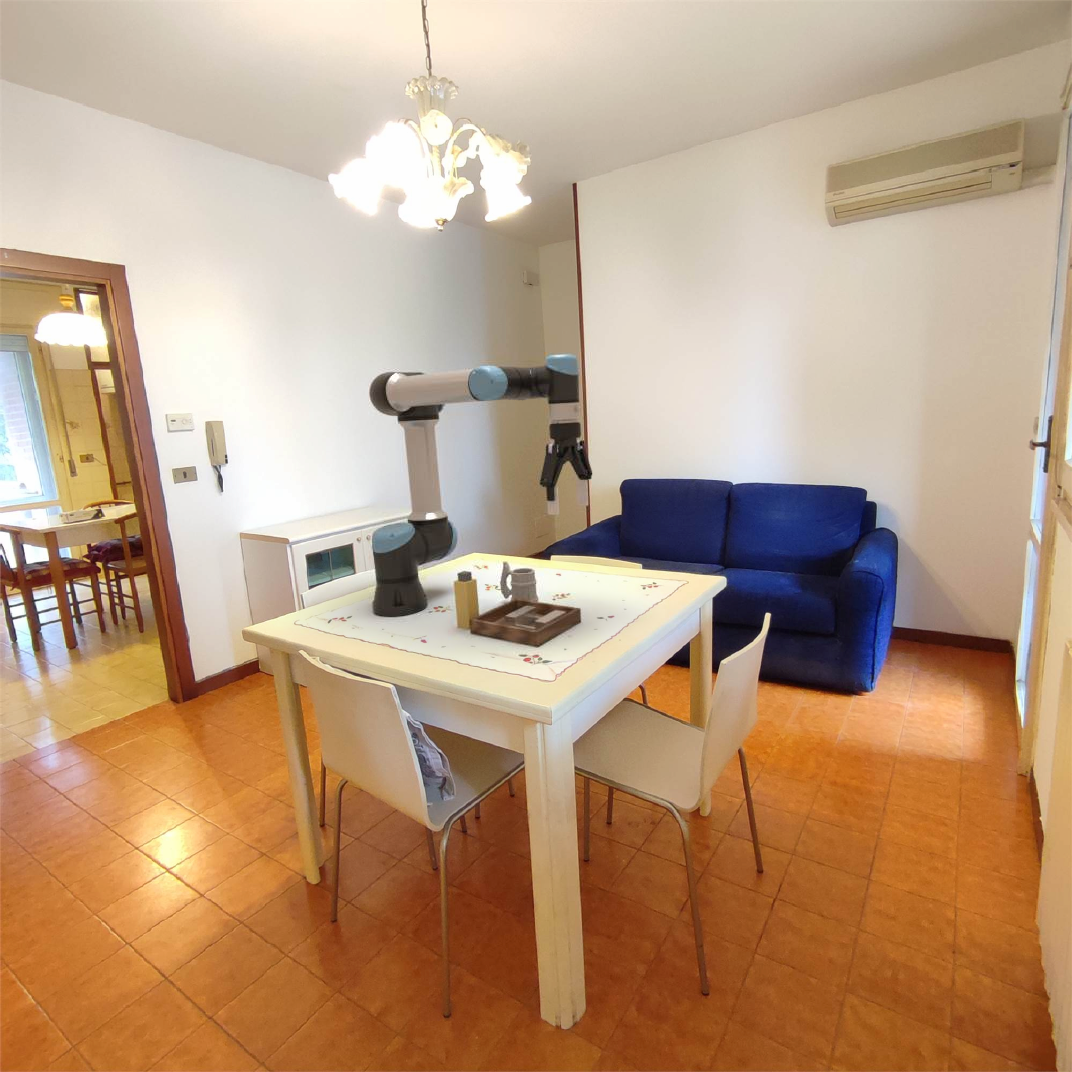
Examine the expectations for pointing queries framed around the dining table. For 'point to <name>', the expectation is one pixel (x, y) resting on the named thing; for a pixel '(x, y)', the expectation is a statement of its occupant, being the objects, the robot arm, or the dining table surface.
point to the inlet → (531, 618)
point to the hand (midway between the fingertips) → (568, 509)
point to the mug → (519, 583)
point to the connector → (466, 599)
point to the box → (496, 628)
